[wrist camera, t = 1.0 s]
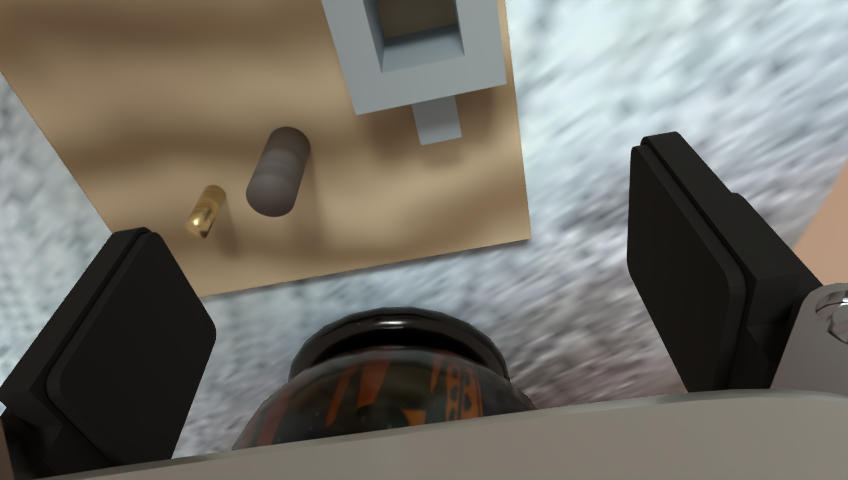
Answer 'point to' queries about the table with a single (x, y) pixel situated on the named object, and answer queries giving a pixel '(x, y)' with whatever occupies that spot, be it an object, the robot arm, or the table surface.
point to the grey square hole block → (418, 62)
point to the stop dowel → (204, 213)
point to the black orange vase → (386, 379)
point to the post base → (260, 135)
